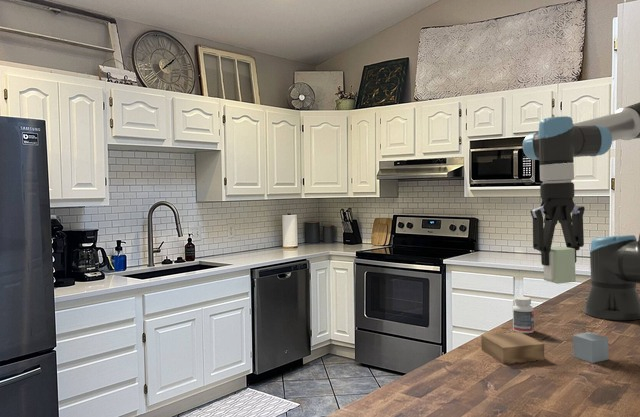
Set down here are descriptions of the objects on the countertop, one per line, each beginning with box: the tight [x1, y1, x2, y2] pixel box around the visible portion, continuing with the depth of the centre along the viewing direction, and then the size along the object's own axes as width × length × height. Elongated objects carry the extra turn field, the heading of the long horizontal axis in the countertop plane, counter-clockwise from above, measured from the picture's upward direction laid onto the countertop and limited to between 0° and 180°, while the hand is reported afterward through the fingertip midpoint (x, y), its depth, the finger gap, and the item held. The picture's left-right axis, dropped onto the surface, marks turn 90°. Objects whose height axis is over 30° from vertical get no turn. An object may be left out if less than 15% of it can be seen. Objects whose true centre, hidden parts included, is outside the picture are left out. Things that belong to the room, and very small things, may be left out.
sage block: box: [543, 245, 577, 285], centre depth 128 cm, size 5×5×8 cm
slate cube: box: [572, 331, 609, 364], centre depth 119 cm, size 5×5×5 cm
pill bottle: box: [512, 296, 535, 334], centre depth 141 cm, size 5×5×9 cm
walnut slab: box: [480, 331, 545, 365], centre depth 123 cm, size 10×10×4 cm
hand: (559, 277), depth 128 cm, fingers closed on sage block, 5 cm apart
